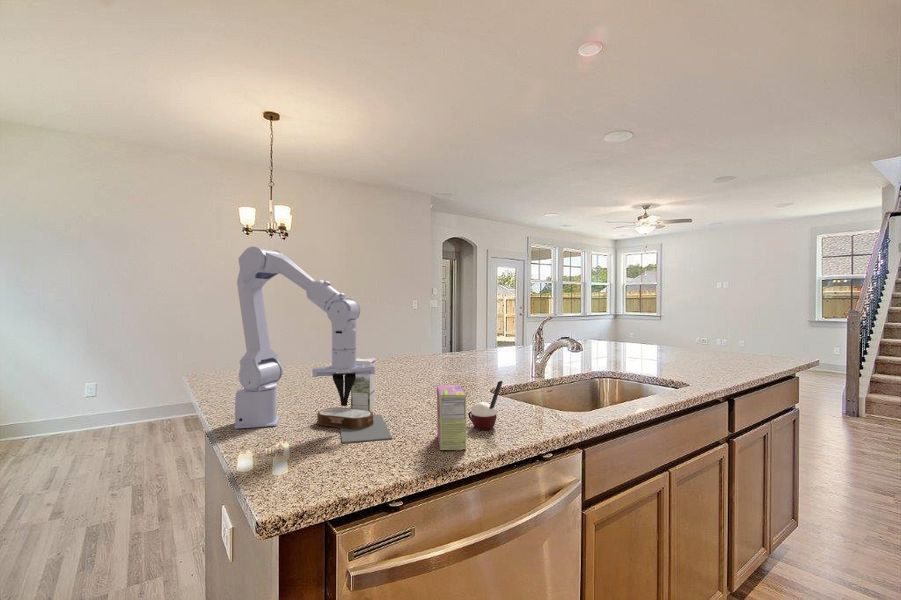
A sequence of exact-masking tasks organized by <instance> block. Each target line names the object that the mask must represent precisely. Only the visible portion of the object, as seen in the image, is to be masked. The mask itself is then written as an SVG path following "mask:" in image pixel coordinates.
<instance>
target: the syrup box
mask: <svg viewBox="0 0 901 600" xmlns="http://www.w3.org/2000/svg"><path fill="white" fill-rule="evenodd" d="M356 365H374V366H375V367H376V358H375V357H356ZM375 407H376V373H375V374H358V375H356V379H355V382H354V384H353V386H352V388H351V391H350V408H351V409H361V410H368V411H371V412H372V410H373V409H374V408H375Z"/></svg>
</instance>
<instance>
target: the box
mask: <svg viewBox="0 0 901 600" xmlns="http://www.w3.org/2000/svg"><path fill="white" fill-rule="evenodd" d="M436 406H437V407H436V408H437V409H436V411H437V414H436V416H437V419H436V421H437V429H436V430H437V440H438V441H437V442H438V445H439V446H438V447H439V451H440V450H456V451H463V450H462V449H466V450H467V394H466V393H465V390H464V389H463V387H462V385H460V384H452V385H451V384H450V385H449V384H448V385H447V384H446V385H445V384H444V385H443V384H442V385H437V386H436Z"/></svg>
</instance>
